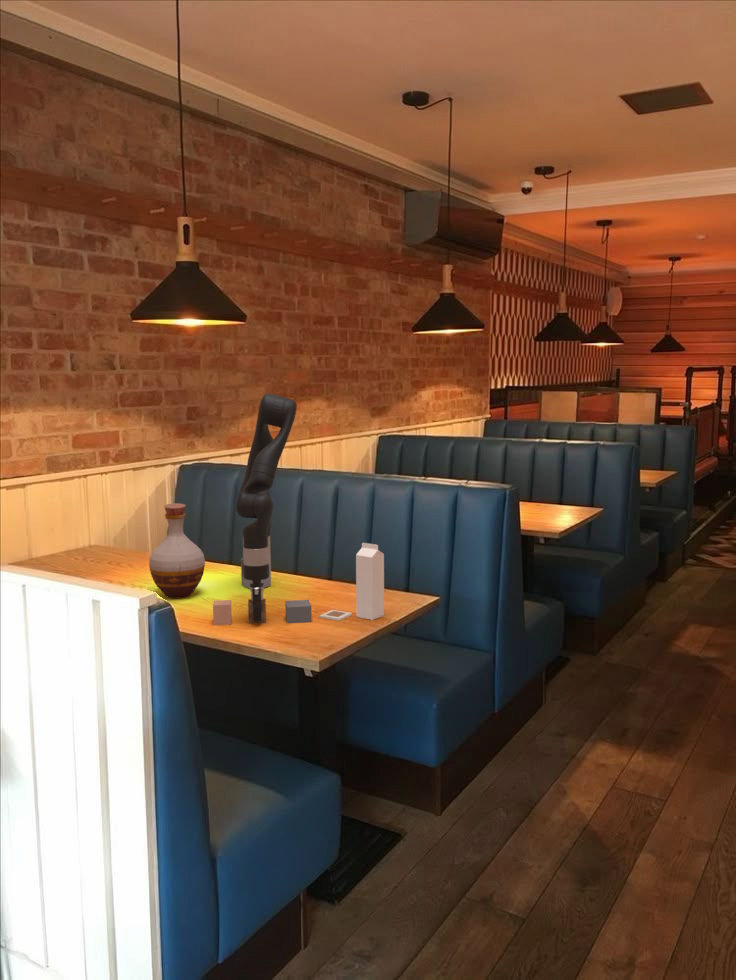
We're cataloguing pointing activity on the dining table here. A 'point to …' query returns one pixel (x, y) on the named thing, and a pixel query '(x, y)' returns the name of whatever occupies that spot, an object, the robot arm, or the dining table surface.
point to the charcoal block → (298, 611)
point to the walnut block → (263, 611)
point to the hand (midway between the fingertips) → (257, 616)
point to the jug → (176, 558)
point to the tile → (335, 615)
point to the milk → (369, 582)
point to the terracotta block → (222, 612)
